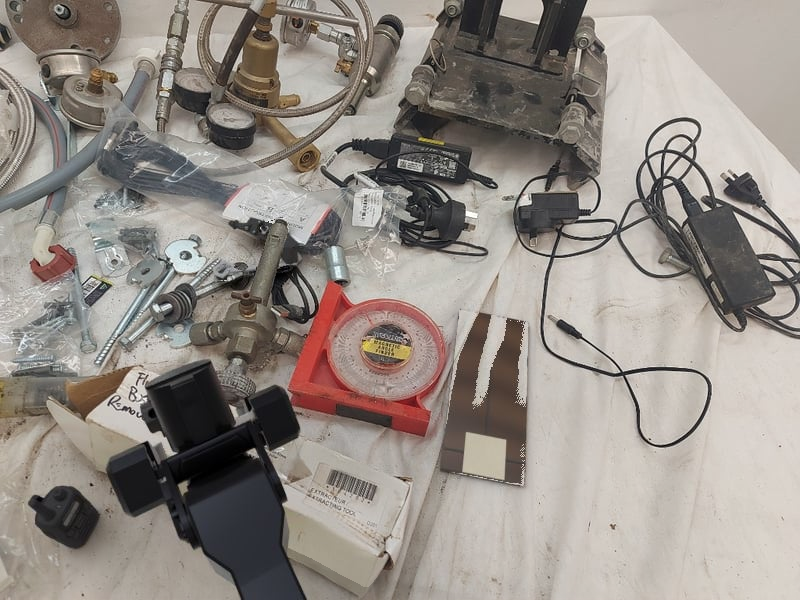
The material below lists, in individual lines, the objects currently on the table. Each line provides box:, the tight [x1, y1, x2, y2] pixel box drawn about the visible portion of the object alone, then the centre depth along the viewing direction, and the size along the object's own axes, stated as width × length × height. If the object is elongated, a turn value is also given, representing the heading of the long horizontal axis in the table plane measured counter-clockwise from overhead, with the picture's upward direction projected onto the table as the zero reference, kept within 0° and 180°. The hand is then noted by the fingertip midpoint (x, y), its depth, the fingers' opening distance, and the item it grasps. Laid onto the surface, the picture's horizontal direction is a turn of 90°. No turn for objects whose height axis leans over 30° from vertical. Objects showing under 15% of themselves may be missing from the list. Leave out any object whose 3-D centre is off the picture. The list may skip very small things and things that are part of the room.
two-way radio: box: [27, 485, 100, 549], centre depth 66 cm, size 6×4×15 cm
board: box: [439, 311, 528, 484], centre depth 90 cm, size 28×12×1 cm, turn 171°
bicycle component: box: [212, 216, 302, 283], centre depth 98 cm, size 12×7×15 cm
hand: (200, 428), depth 68 cm, fingers open, 9 cm apart
